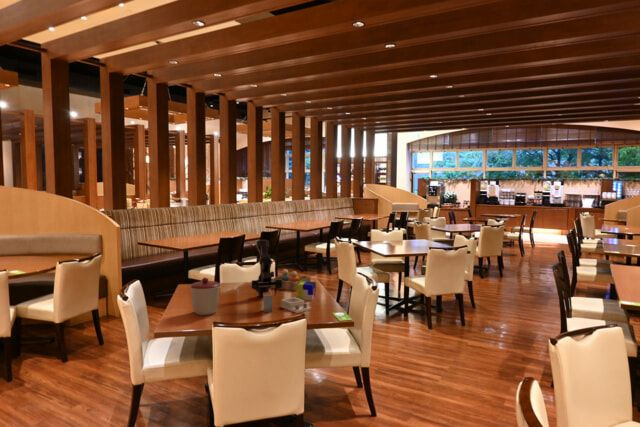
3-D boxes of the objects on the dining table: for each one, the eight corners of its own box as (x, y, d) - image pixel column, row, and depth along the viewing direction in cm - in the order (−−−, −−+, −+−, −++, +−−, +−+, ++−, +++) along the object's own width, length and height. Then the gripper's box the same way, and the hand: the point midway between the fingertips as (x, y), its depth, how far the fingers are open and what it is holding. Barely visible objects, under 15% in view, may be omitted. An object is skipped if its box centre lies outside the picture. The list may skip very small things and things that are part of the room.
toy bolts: (308, 285, 336) (308, 269, 336) (295, 289, 322) (295, 272, 321) (289, 282, 346) (290, 266, 346) (275, 286, 332) (275, 269, 331)
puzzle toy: (312, 300, 293) (312, 285, 292) (297, 299, 295) (297, 284, 294) (315, 296, 303) (315, 282, 302) (301, 295, 305) (301, 281, 304)
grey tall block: (263, 309, 269) (263, 292, 268) (271, 309, 270) (271, 291, 269) (263, 312, 264) (263, 294, 263) (272, 311, 265) (272, 293, 264)
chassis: (280, 306, 276) (280, 299, 276) (294, 303, 283) (294, 297, 282) (296, 313, 263) (296, 305, 263) (310, 309, 270) (311, 302, 270)
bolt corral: (269, 287, 327) (269, 279, 326) (284, 281, 348) (284, 273, 348) (296, 290, 318) (296, 282, 317) (310, 284, 339) (310, 276, 339)
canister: (222, 316, 255) (221, 280, 254) (189, 318, 250) (189, 281, 249) (220, 307, 273) (219, 274, 271) (189, 309, 268) (189, 275, 266)
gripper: (251, 267, 270) (252, 289, 260) (282, 266, 274) (284, 288, 263) (251, 277, 278) (251, 299, 268) (280, 276, 282) (282, 297, 272)
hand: (267, 295), depth 267 cm, fingers open, 9 cm apart
